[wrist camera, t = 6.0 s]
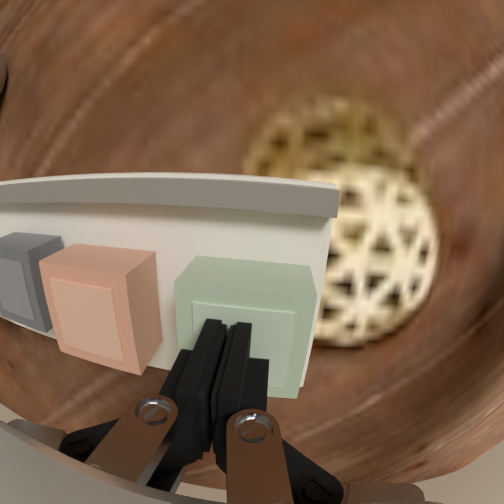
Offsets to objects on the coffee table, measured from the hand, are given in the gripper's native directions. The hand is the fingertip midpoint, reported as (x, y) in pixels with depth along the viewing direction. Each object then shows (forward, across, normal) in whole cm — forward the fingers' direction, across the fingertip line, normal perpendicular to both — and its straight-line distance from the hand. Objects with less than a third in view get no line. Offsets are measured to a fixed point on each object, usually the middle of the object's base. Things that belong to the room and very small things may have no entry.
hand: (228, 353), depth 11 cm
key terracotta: (+3, +7, 0) cm, 7 cm away
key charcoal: (+4, +14, 0) cm, 14 cm away
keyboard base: (+6, +10, 0) cm, 12 cm away
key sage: (+3, 0, 0) cm, 3 cm away
